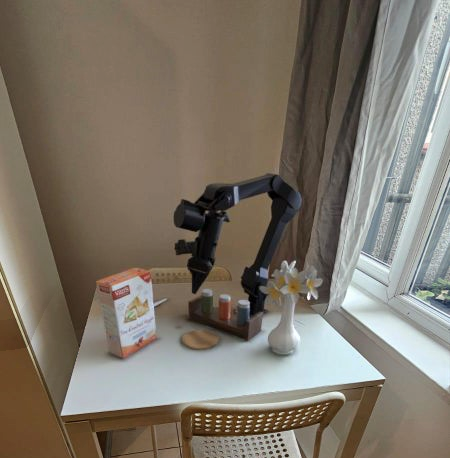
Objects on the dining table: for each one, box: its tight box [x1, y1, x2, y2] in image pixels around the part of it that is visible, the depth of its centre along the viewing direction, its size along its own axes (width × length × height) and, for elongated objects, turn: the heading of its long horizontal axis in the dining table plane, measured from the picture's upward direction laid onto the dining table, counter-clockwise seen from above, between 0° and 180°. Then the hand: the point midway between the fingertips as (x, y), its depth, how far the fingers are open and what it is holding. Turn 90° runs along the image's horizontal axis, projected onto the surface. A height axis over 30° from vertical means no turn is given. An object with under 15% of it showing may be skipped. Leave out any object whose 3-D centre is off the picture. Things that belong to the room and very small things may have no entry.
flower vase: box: [259, 258, 323, 356], centre depth 90 cm, size 13×18×25 cm
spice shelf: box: [187, 295, 264, 342], centre depth 108 cm, size 8×23×6 cm, turn 55°
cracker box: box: [95, 266, 157, 359], centre depth 92 cm, size 14×6×21 cm, turn 148°
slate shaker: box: [236, 299, 250, 326], centre depth 103 cm, size 4×4×7 cm
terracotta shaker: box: [218, 293, 232, 320], centre depth 106 cm, size 4×4×7 cm
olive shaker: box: [200, 288, 214, 314], centre depth 109 cm, size 4×4×7 cm
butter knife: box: [153, 298, 168, 308], centre depth 116 cm, size 1×27×3 cm
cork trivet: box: [181, 329, 219, 351], centre depth 101 cm, size 11×11×1 cm
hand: (195, 290), depth 100 cm, fingers open, 9 cm apart
